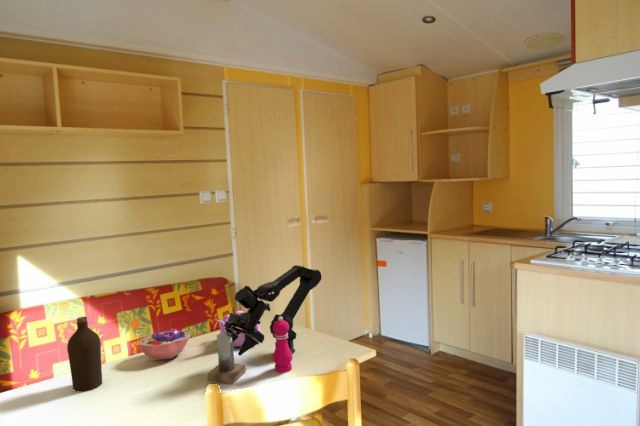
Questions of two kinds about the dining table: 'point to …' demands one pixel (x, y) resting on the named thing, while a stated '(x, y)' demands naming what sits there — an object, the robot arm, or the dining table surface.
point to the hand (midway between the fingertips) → (231, 352)
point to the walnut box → (226, 374)
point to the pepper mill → (282, 347)
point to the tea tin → (225, 352)
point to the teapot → (241, 338)
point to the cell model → (164, 344)
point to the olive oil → (85, 357)
